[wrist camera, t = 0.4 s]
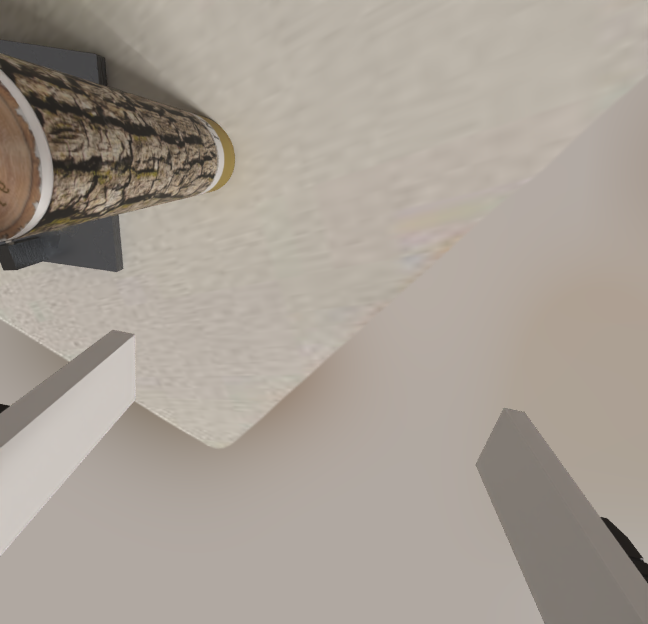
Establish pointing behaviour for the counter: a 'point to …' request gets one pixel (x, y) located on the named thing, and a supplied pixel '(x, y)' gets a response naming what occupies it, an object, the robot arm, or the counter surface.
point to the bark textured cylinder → (95, 151)
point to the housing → (81, 239)
